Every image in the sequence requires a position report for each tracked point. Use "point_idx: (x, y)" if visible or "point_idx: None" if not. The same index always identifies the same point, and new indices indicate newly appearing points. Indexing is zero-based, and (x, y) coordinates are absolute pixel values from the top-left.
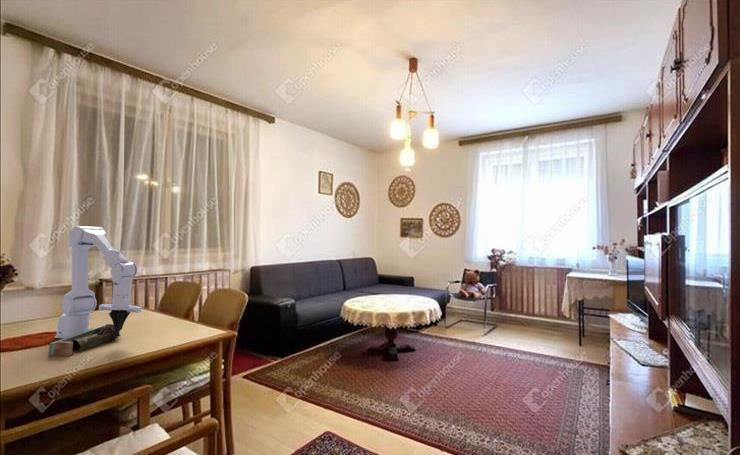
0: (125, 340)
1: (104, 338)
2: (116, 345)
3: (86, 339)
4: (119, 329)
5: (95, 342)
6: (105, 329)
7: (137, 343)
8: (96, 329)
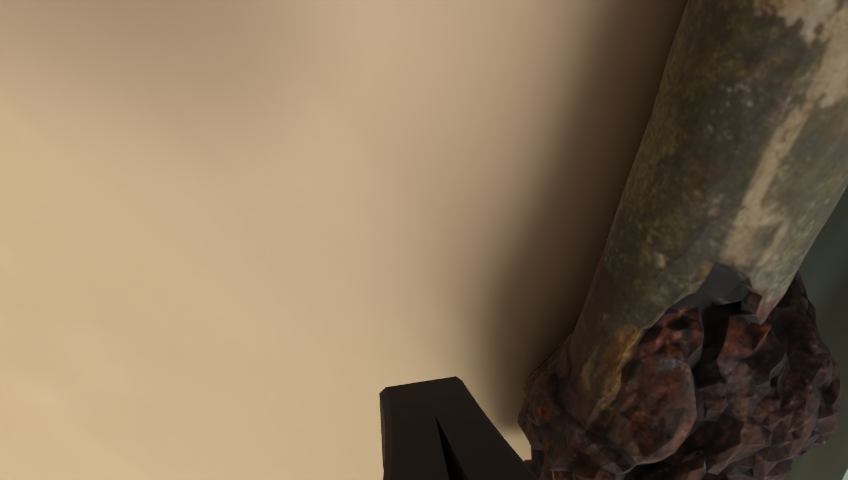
0: None
1: (604, 289)
2: (377, 246)
3: (804, 16)
4: (383, 430)
5: (652, 132)
6: (708, 448)
7: (162, 393)
8: (827, 405)
